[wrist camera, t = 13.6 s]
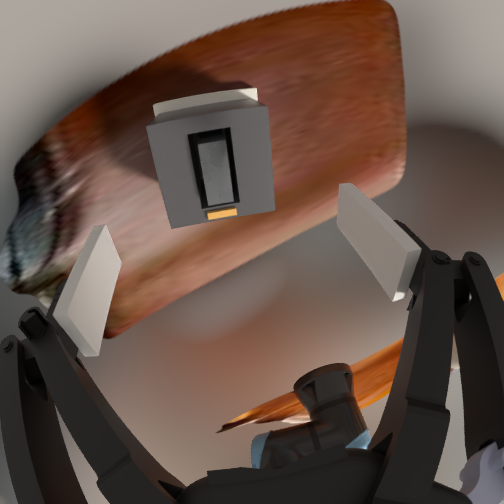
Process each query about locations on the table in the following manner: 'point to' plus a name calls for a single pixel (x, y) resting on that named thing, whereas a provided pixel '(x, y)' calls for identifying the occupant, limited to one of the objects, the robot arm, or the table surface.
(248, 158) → the gray slotted block
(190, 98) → the shaft stand
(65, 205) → the table surface
